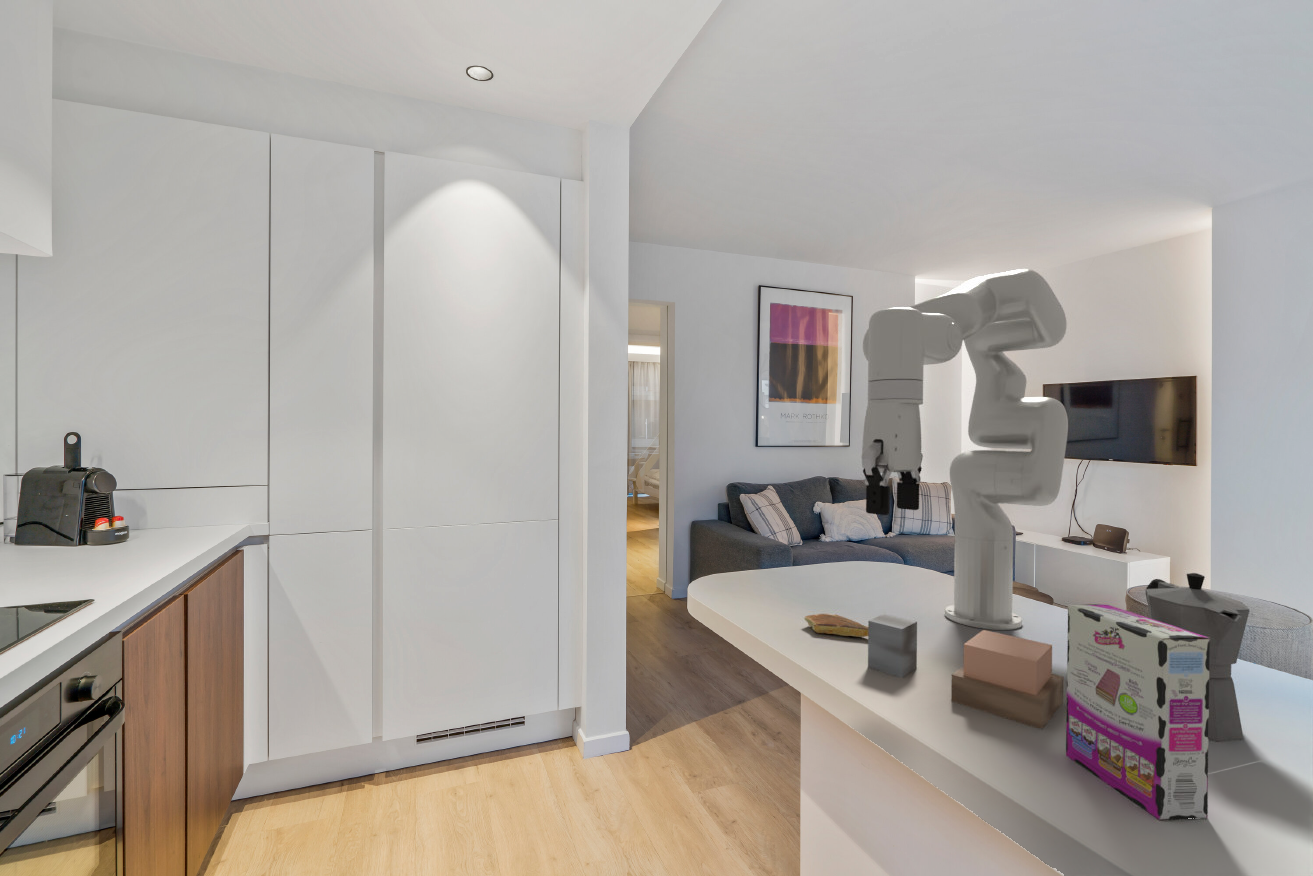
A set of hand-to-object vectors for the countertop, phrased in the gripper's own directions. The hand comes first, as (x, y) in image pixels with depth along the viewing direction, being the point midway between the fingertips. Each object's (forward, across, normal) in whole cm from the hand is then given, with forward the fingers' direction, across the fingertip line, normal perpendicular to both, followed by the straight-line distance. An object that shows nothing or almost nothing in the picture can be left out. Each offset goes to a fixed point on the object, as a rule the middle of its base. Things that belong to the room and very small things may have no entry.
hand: (893, 511), depth 86 cm
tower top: (+20, 0, +15) cm, 25 cm away
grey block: (+23, 0, 0) cm, 23 cm away
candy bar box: (+23, +11, +29) cm, 39 cm away
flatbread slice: (+24, -12, -10) cm, 29 cm away
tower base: (+24, 0, +15) cm, 28 cm away
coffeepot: (+23, -11, +31) cm, 40 cm away
